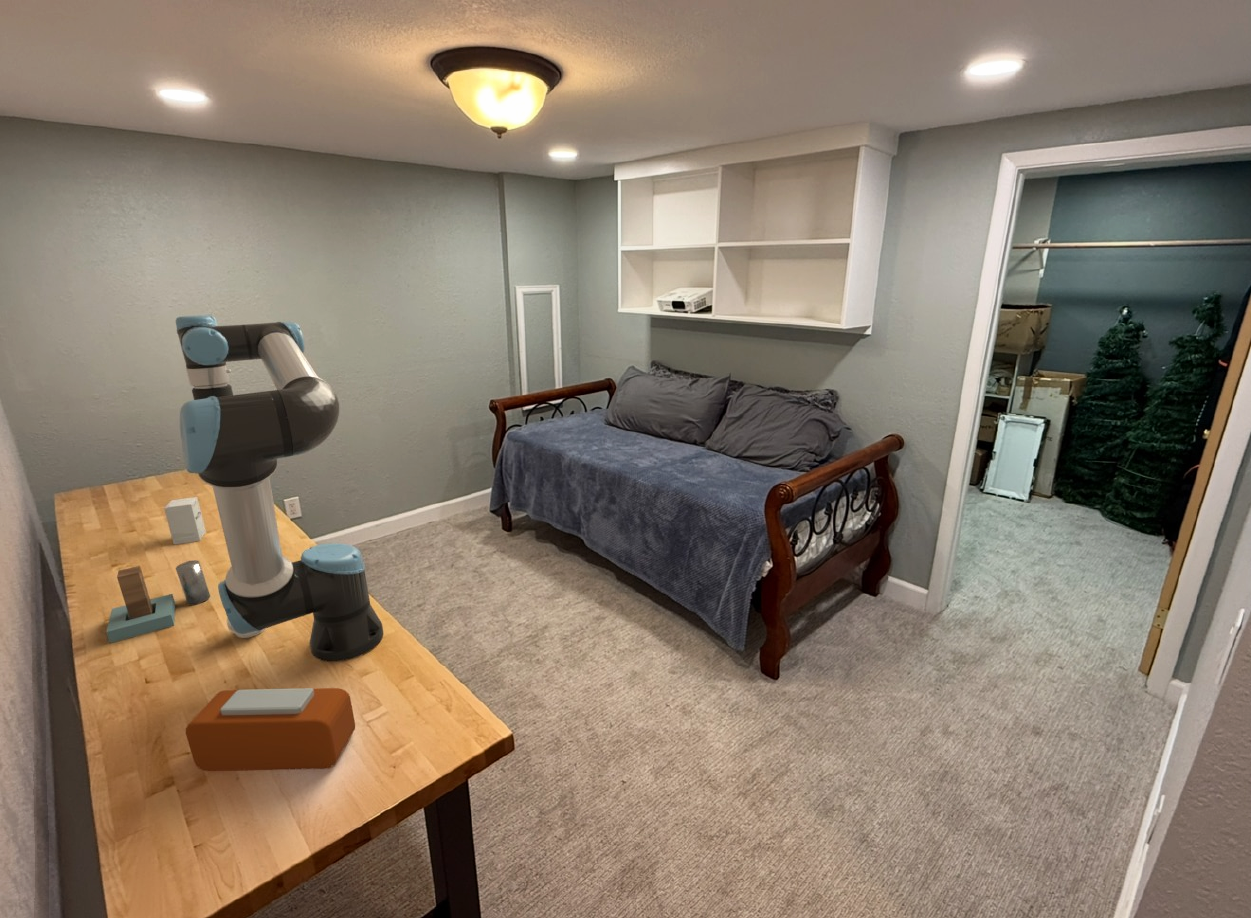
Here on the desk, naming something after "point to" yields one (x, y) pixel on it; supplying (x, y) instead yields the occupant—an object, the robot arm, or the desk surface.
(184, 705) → the desk surface
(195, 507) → the supplement box
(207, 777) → the desk surface
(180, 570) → the round bit
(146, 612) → the square bit
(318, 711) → the block with grey pad
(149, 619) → the socket block
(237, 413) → the robot arm
